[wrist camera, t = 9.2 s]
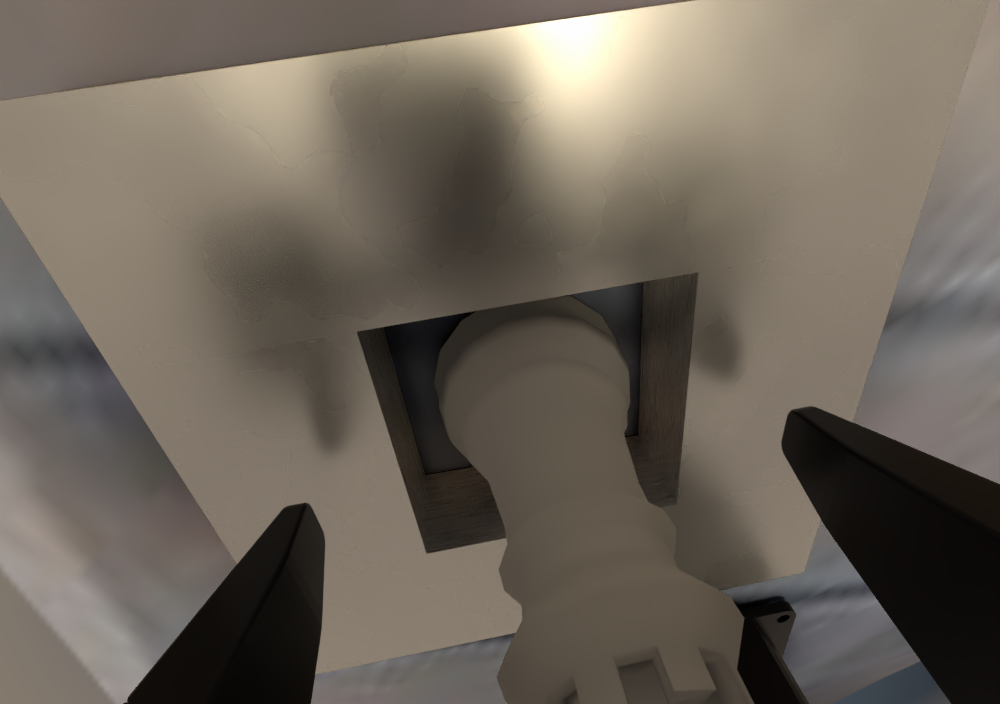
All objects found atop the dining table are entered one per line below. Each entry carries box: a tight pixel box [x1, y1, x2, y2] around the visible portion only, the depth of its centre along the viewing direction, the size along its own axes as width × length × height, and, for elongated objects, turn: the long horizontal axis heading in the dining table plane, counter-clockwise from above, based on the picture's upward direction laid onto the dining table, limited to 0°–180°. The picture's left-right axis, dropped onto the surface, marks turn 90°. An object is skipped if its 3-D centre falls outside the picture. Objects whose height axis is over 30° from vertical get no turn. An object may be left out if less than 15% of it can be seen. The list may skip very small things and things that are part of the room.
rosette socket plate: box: [0, 0, 990, 675], centre depth 11 cm, size 14×14×2 cm
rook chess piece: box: [434, 296, 754, 704], centre depth 9 cm, size 4×4×8 cm
